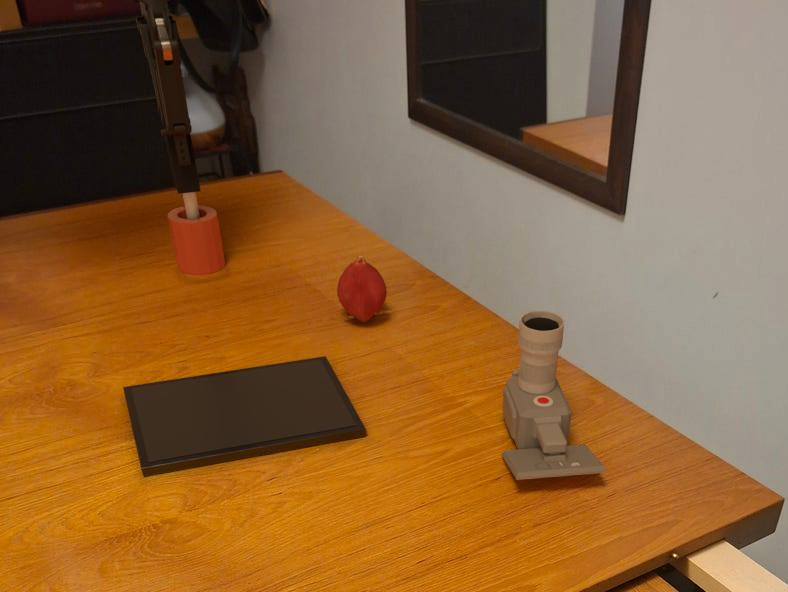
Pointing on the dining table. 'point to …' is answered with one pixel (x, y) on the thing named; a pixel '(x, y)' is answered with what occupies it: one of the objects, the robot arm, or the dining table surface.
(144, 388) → the tablet
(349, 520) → the dining table surface
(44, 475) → the dining table surface
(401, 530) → the dining table surface
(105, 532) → the dining table surface
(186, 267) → the pen pot
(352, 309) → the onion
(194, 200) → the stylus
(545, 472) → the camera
